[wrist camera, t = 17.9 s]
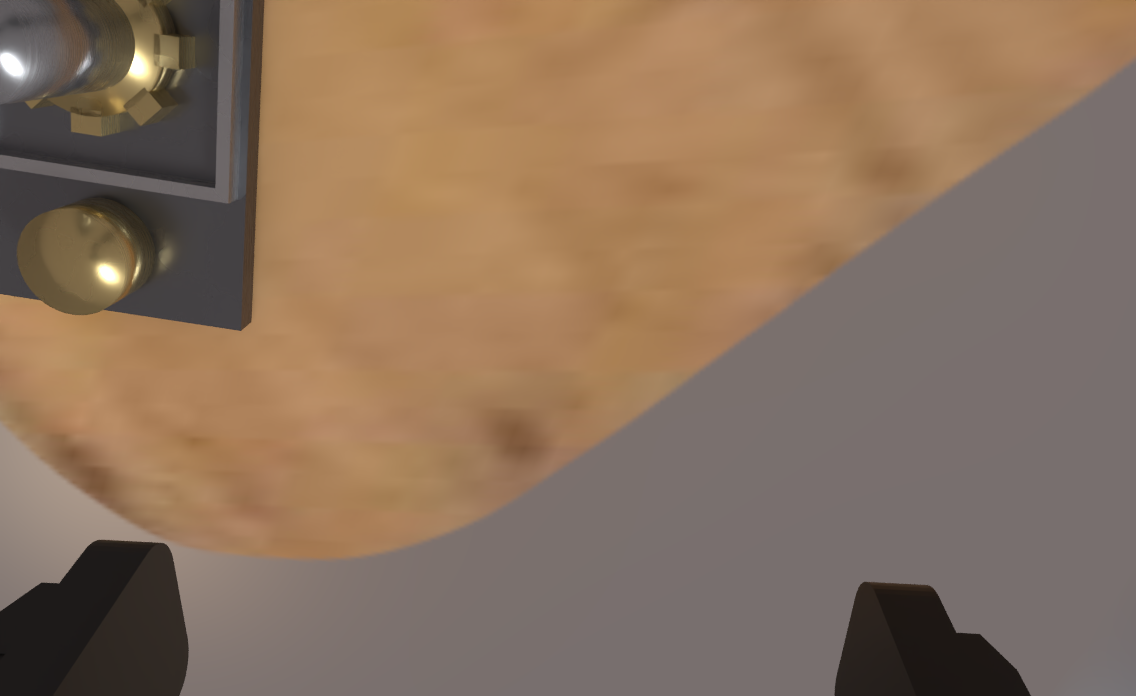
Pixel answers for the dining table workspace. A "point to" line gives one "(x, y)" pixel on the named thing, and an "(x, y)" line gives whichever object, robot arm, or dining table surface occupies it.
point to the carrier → (144, 189)
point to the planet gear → (92, 59)
